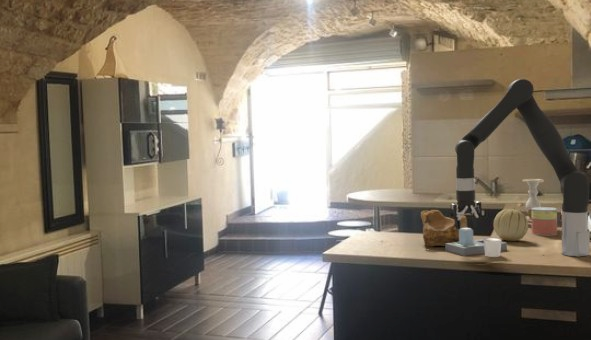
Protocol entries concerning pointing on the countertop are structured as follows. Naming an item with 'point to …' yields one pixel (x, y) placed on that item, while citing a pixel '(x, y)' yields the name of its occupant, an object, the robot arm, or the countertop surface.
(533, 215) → the canned food
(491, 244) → the shot glass
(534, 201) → the candle holder
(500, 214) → the cantaloupe
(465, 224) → the rough brown rock
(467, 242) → the light blue cylinder
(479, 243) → the socket panel
